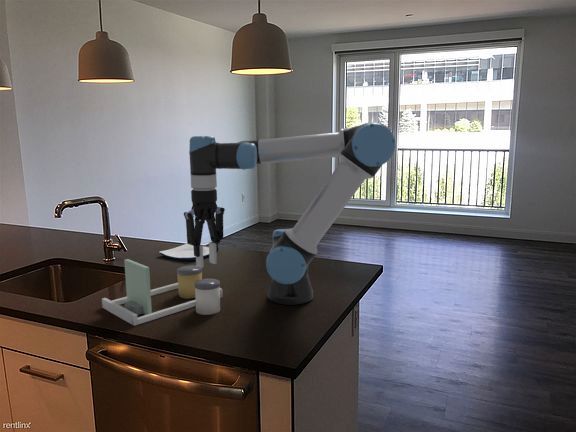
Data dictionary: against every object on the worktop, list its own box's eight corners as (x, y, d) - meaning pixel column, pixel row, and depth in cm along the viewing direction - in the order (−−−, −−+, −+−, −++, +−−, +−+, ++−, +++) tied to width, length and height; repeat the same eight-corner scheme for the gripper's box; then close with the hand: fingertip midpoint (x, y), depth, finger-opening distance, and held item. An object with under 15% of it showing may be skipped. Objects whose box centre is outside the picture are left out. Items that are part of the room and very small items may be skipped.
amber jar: (208, 293, 163) (206, 268, 162) (188, 300, 157) (186, 274, 156) (193, 288, 169) (191, 263, 167) (173, 295, 163) (171, 269, 161)
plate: (190, 264, 199) (190, 258, 198) (155, 257, 209) (155, 251, 209) (222, 253, 216) (222, 247, 215) (188, 247, 226) (188, 242, 226)
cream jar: (225, 310, 149) (225, 282, 148) (205, 317, 144) (204, 288, 142) (210, 303, 155) (209, 276, 153) (190, 310, 149) (189, 282, 148)
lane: (222, 297, 160) (222, 288, 160) (134, 325, 138) (133, 315, 137) (188, 283, 174) (187, 275, 173) (102, 307, 151) (101, 298, 151)
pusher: (151, 314, 145) (149, 267, 143) (141, 318, 143) (138, 269, 140) (130, 304, 154) (127, 258, 151) (120, 307, 152) (117, 261, 149)
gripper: (219, 185, 151) (221, 256, 155) (171, 190, 139) (175, 268, 143) (234, 187, 146) (236, 261, 150) (186, 193, 134) (189, 273, 138)
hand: (206, 264), depth 147 cm, fingers open, 4 cm apart
